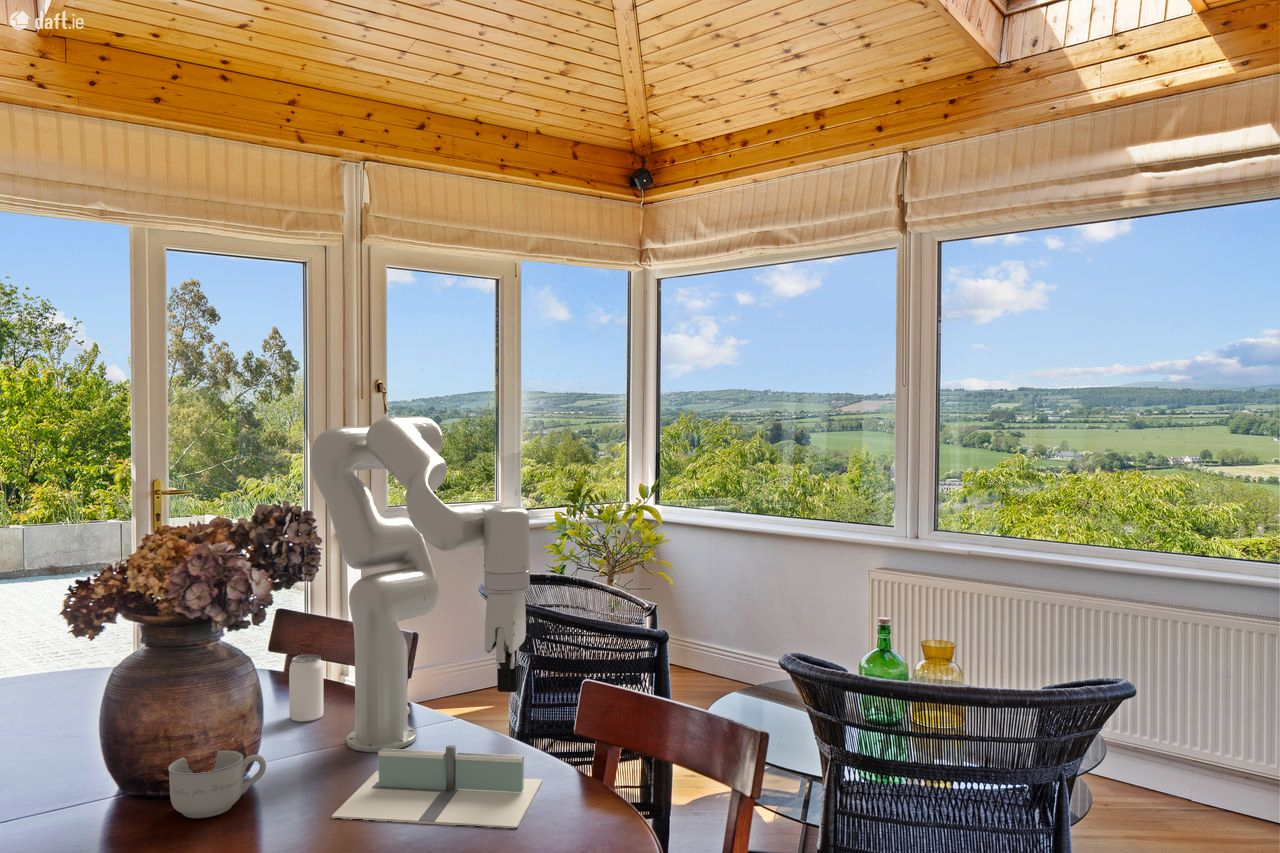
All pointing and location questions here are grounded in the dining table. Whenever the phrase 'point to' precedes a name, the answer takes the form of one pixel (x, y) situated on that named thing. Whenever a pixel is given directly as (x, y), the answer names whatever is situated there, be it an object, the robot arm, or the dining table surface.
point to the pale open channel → (489, 772)
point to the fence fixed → (418, 768)
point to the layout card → (439, 805)
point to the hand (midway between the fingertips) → (508, 690)
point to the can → (306, 688)
